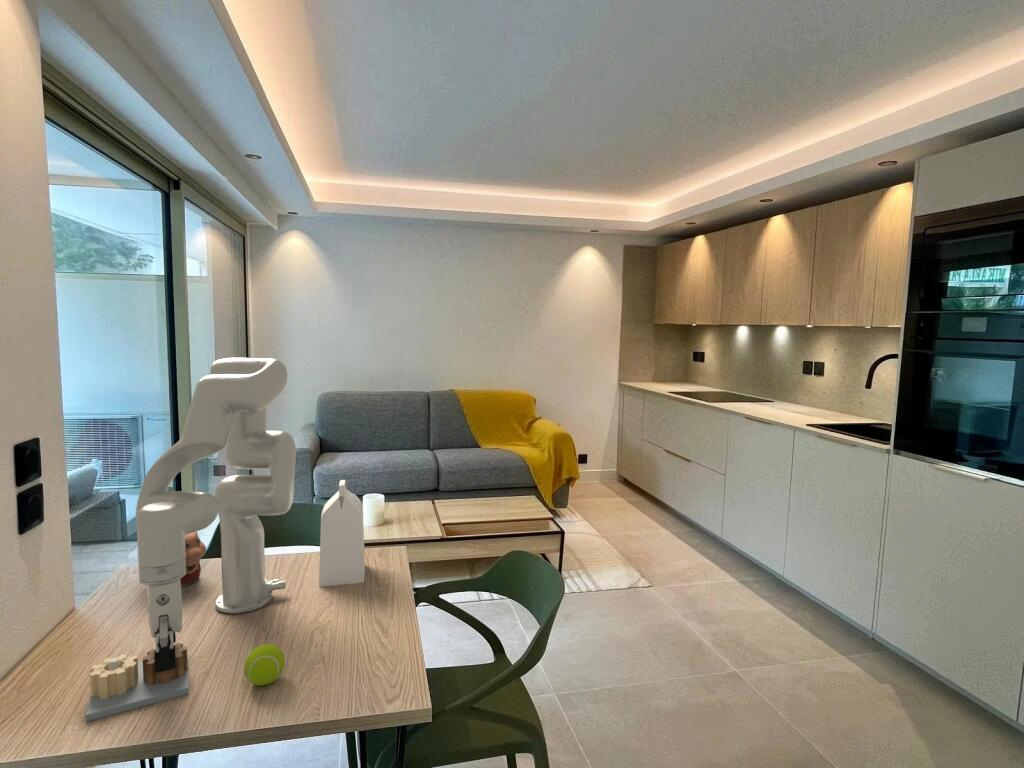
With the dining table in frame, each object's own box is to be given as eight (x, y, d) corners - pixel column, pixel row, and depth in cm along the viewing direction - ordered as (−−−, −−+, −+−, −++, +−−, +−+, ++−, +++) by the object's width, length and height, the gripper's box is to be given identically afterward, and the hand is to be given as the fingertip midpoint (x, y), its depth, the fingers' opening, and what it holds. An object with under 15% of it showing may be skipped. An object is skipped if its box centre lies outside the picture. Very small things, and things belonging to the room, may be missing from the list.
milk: (322, 568, 158) (321, 478, 156) (364, 564, 161) (364, 476, 159) (318, 586, 146) (317, 489, 144) (364, 582, 149) (363, 487, 147)
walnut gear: (187, 658, 111) (186, 639, 110) (187, 677, 105) (187, 657, 104) (144, 669, 107) (143, 649, 107) (142, 689, 101) (141, 668, 101)
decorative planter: (123, 585, 145) (121, 533, 144) (164, 567, 157) (163, 518, 156) (183, 596, 139) (181, 542, 138) (221, 577, 151) (220, 527, 150)
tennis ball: (246, 675, 108) (245, 640, 107) (285, 668, 110) (284, 634, 110) (243, 697, 101) (242, 660, 101) (284, 689, 104) (283, 653, 103)
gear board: (187, 656, 114) (186, 627, 113) (188, 693, 102) (187, 662, 101) (96, 678, 106) (94, 647, 105) (85, 721, 94) (84, 688, 93)
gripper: (186, 582, 99) (189, 674, 100) (185, 550, 113) (187, 630, 115) (135, 591, 95) (139, 687, 96) (141, 557, 110) (144, 640, 111)
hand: (165, 656), depth 106 cm, fingers open, 9 cm apart
